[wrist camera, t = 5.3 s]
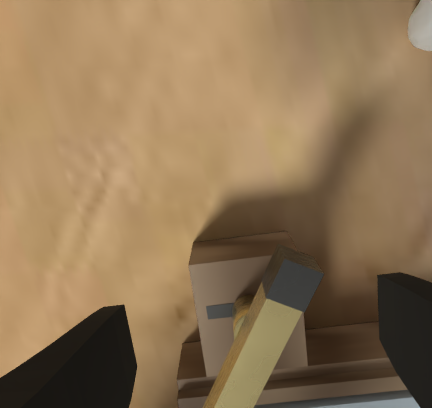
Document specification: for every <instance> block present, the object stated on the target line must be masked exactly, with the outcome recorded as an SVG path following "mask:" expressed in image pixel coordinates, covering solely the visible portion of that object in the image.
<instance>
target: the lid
mask: <svg viewBox="0 0 432 408" xmlns="http://www.w3.org/2000/svg"><path fill="white" fill-rule="evenodd" d="M254 408H420V407H419V405H418V404H417V402H416V401H415V399H414V398H413V396H412V395H411V394H410V392H409V391H408V390H398V391H389V392H379V393H369V394H359V395H350V396H340V397H330V398H320V399H311V400H301V401H291V402H281V403H272V404H262V405H255V406H254Z"/></svg>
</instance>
